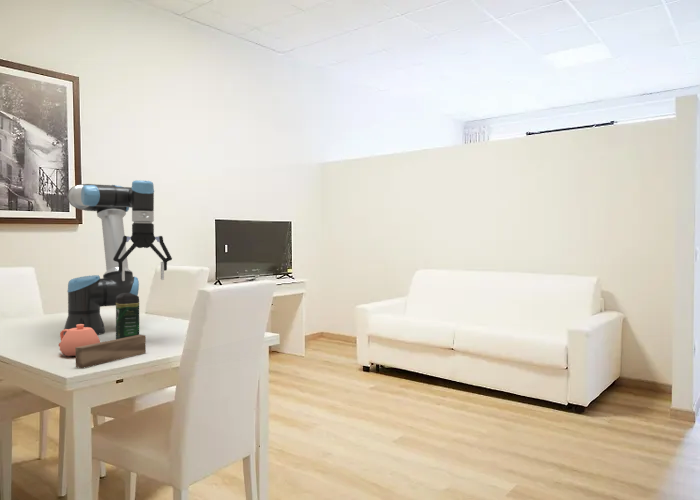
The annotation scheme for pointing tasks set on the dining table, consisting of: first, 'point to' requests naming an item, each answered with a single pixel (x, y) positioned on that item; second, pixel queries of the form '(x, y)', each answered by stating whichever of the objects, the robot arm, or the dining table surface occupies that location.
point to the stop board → (110, 350)
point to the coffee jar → (127, 315)
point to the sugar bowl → (76, 339)
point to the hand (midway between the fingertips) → (143, 280)
